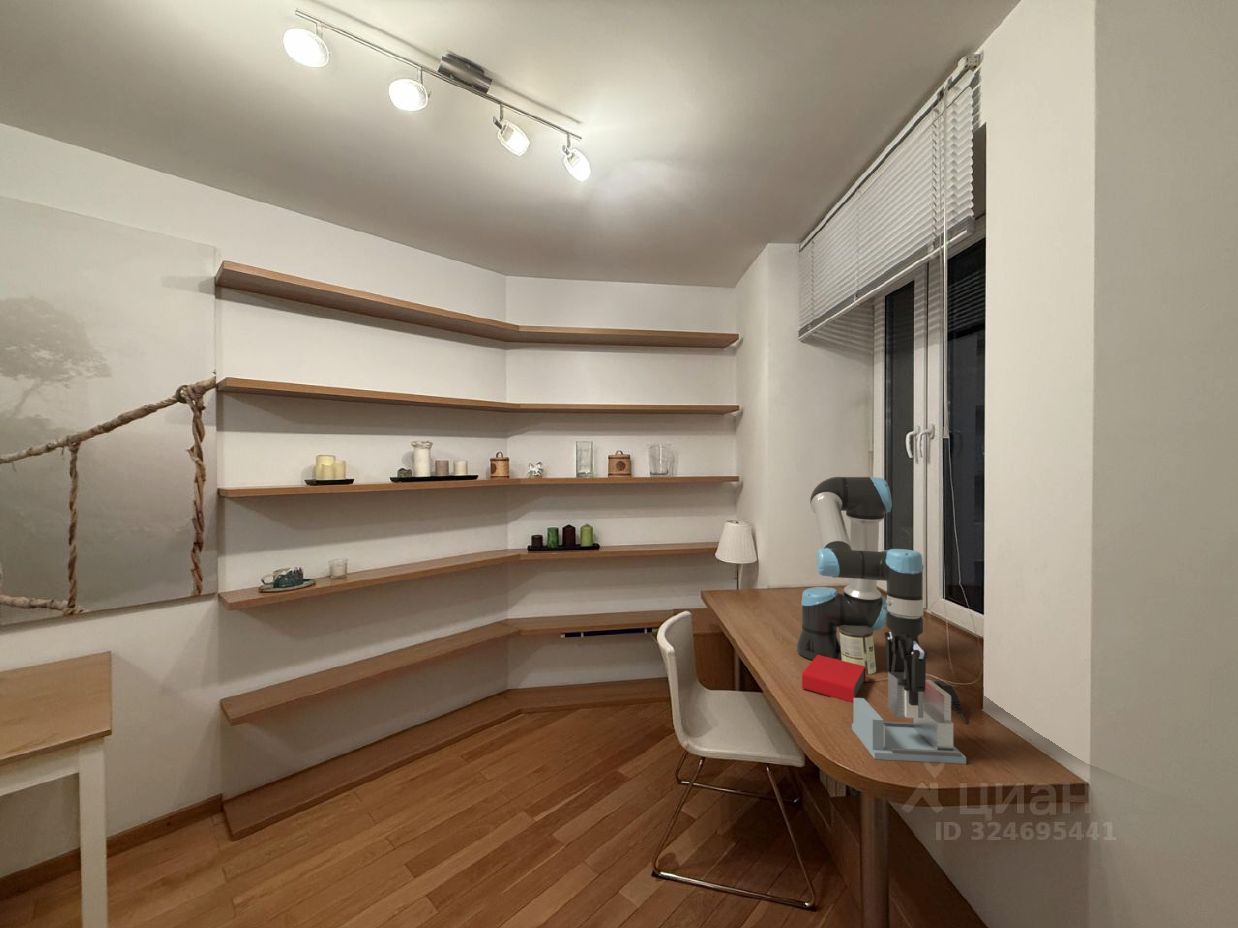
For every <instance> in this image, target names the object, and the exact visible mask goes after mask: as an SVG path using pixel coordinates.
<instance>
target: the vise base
mask: <svg viewBox="0 0 1238 928" xmlns="http://www.w3.org/2000/svg"><path fill="white" fill-rule="evenodd" d="M851 730H852V731H853V733H854V735H856V737H857V738H858V739H859V740H860V742H861V744H863V746H864V747H865V749H866V750H867V751H868V752H869V755H871V757H872V758H873V759H874V760H884V761H885V760H887V761H903V762H904V761H905V762H925V763H926V762H927V763H944V764H945V763H946V764H962V765H967V757H966V756H965V755H964V754H963V753H962V752H961V751H960V750H959V749H958V748H957V747H956V746H955V745H953V751H942V750H936V749H935V748H934V747H933V746H932V745H931V744H930V743H929V742H928V741H927V740H926V739H925V738H924V737H923V736H922V735H921V734H920V733H919V732H918V731H917V730H916V729H915V728H914V727H913V722H904V721H900V722H899V721H885V720H884V719H883V717H882V716H881V715H880V714H879V713H878V712H877V711H876V710H875V709H874V708H873V707H872V706H871V705H870V703H869V702H868V701H867V700H866V698H863V697H855V698H854V703H853V722H851Z"/></svg>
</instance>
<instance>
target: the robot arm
mask: <svg viewBox="0 0 1238 928" xmlns="http://www.w3.org/2000/svg"><path fill="white" fill-rule="evenodd" d="M891 495H892V494H891V491H890V487H889V484H888V482H887V481H886V480H885V479H884V478H882V477H874V476H833V477H829V478H827V479H825V480H823V481H821V482H820V483H819V484H818V485H817V486H816V487H815V488H814V489H813V490H812V493H811V495H810V499H809V500H810V501H809V503H810V508H811V510H812V512H813V513H814V514H815V517H816V522H817V527H818V532H819V537H820V542H821V548H819V549H817V552H816V553H817V554H816V565H817V566H816V567H817V568H816V570H817V572H818V574H819V575H820V576H823V577H824V576H825V577H831V578H840V579H848V585H846V586H844V588H843V593H838V591H837V589H836V588H834V587H827V586H815V587H814V586H813V587H809V588H807V589H804V590H803V591H802V594H801V595H802V596H801V603H800V604H801V630H800V633H799V636H798V639H797V642H796V652H797V653H798V654H799V655H800V656H802V657H803V658H805V659H809V660H812V661H813V659H814V658H815V657H816V656H817V655H821V656H825V657H829V658H833V659H837V660H841V661H842V656H841V645H840V639H839V637H838V634H837V633H838V630H837V629H838V628H839V626H841V625H852V626H867V627H870V628H871V629H872V630H873V631H877V632H878V631H881V630H882V629H883V628H884V627H885V624H886V627H887V629H889V630H890V631H885V632H884V638H885V655H886V657H885V658H886V661H885V662H886V672H887V673H888V672H905V677H906V685H907V687H904V708H905V717H904V718H907V719H913V718H918V692H923V693H924V692H925V681H926V680H927V679H926V677H927V676H926V673H927V672H926V671H927V670H926V669H927V668H926V666H927V665H926V664H927V658H928V650H927V649H922V647H920V642H919V636H920V635H922V634H923V632H924V618H923V616H924V586H923V585H924V583H923V581H924V579H923V578H924V577H923V576H924V572H923V571H924V564H923V555H922V553H920V551H917V550H912V549H907V548H906V549H904V548H903V549H902V548H890V549H888V550H887V549H885V550H884V549H883V550H881V551H879V537H880V535H879V534H880V522H882V521H883V520H884V519H885V518H886V517H885V515H886V514H888V513H890V512H891V511H892V506H893V503H892V496H891ZM842 511H843V512H844V511H845V515H846V517H847V518H848V519H849V520H850V537H849V535H848V530H847V527H846V524H845V521H844V516H843V513H842ZM878 581H882V582H883V581H886V598H885V597H883V596H882V593H881V591H880V590H879V589H878V588H877V586H878V585H877V584H878Z"/></svg>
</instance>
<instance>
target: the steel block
mask: <svg viewBox="0 0 1238 928" xmlns="http://www.w3.org/2000/svg"><path fill="white" fill-rule="evenodd" d="M904 687H907V685H906V677H905V671H904V672H887V709H888V710H889V711H890V712H891V713H892V714H893V715H894V716H895V717H897V718H906V717H905V708H904ZM923 702H924V692H918V718H923Z"/></svg>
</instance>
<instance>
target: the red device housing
mask: <svg viewBox="0 0 1238 928" xmlns="http://www.w3.org/2000/svg"><path fill="white" fill-rule="evenodd" d="M866 676H867V675H866V667H865V666H862V665H857V664H853V663H849V662H845V661H842V659H841V660H837V659H833V658H829V657H825V656H821V655H817V656H816V657H815V658H814V659H813V660H812V661H811V662H810V663H809V664H808V665H807V666H806V668H805V669H804V670H803V672H802V673H801V688H802V689H803V690H806V691H811V692H813V693H816V694H819V695H823V696H828V697H831V698H835V699H839V700H842V701H845V702H849V703H851V704H854V698H856V697H857V694H858V692H859V690H860V689H861V687H862V685H863V683H864V682H866V681H865V680H866V679H867V678H866Z"/></svg>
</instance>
